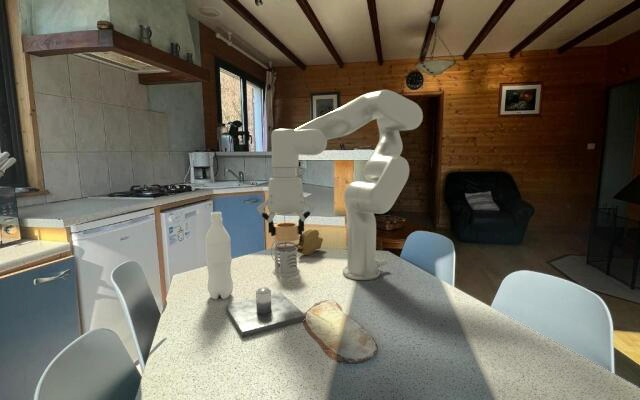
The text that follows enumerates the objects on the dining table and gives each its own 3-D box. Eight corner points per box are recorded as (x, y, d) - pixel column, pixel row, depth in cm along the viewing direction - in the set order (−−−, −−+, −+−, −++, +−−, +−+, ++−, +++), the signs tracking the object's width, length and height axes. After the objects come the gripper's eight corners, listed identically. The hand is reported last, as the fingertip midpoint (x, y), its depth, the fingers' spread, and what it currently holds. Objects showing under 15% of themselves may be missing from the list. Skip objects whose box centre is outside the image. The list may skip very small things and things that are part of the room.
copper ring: (293, 234, 107) (292, 221, 106) (303, 239, 101) (302, 225, 100) (270, 237, 104) (270, 224, 103) (279, 243, 97) (279, 228, 97)
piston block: (281, 297, 102) (280, 274, 101) (305, 320, 88) (304, 293, 87) (225, 310, 94) (224, 285, 93) (242, 338, 80) (241, 308, 79)
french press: (305, 269, 125) (304, 200, 121) (285, 280, 115) (283, 205, 111) (283, 265, 130) (281, 198, 126) (262, 274, 120) (259, 202, 117)
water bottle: (226, 302, 99) (221, 215, 96) (203, 300, 101) (197, 214, 97) (237, 292, 106) (233, 210, 103) (215, 290, 108) (210, 210, 104)
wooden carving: (314, 248, 152) (314, 225, 150) (323, 249, 149) (323, 226, 148) (292, 258, 138) (292, 233, 136) (302, 260, 135) (302, 235, 134)
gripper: (314, 172, 104) (314, 230, 107) (254, 173, 102) (256, 232, 104) (317, 174, 97) (318, 236, 99) (253, 174, 94) (255, 239, 97)
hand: (286, 234), depth 102 cm, fingers closed on copper ring, 7 cm apart
